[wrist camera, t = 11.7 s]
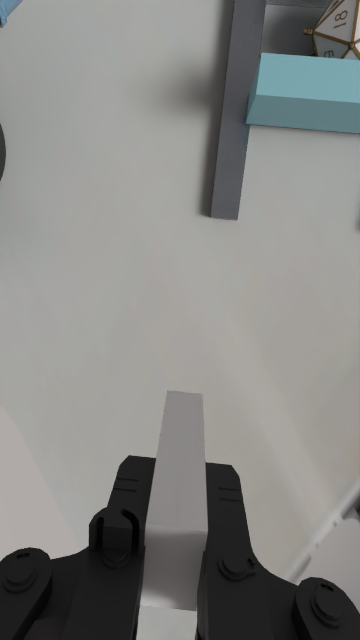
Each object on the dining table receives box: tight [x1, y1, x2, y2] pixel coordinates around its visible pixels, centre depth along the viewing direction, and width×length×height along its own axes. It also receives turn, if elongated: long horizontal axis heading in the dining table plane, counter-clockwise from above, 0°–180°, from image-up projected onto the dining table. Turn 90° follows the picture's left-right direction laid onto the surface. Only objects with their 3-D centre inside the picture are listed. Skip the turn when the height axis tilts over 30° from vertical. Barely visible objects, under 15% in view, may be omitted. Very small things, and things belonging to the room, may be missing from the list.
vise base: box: [210, 0, 332, 220], centre depth 33 cm, size 21×24×6 cm
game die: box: [303, 0, 360, 60], centre depth 31 cm, size 9×8×10 cm
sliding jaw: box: [245, 53, 360, 133], centre depth 31 cm, size 16×3×7 cm, turn 84°
